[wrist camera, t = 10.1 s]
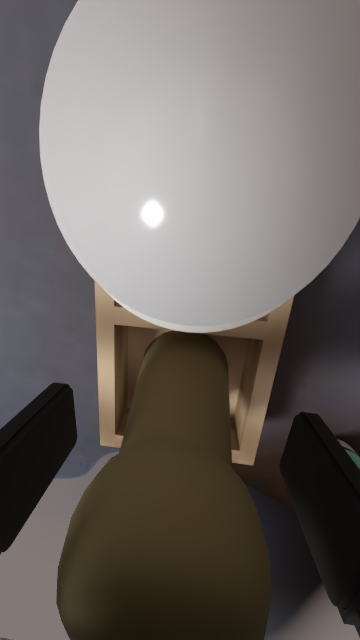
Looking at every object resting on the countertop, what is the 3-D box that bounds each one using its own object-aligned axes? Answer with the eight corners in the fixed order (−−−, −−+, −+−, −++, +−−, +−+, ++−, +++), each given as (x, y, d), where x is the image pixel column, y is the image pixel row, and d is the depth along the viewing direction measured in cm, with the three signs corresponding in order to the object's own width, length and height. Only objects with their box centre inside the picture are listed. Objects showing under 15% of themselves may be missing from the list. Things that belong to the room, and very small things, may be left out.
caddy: (119, 148, 12) (88, 104, 9) (295, 159, 11) (337, 117, 8) (119, 408, 17) (100, 445, 14) (241, 423, 16) (253, 465, 13)
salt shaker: (154, 187, 11) (-58, -192, 2) (249, 194, 11) (573, -203, 2) (151, 282, 13) (21, 344, 3) (234, 289, 13) (356, 381, 3)
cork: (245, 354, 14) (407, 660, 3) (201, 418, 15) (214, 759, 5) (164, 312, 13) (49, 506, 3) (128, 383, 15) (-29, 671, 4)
